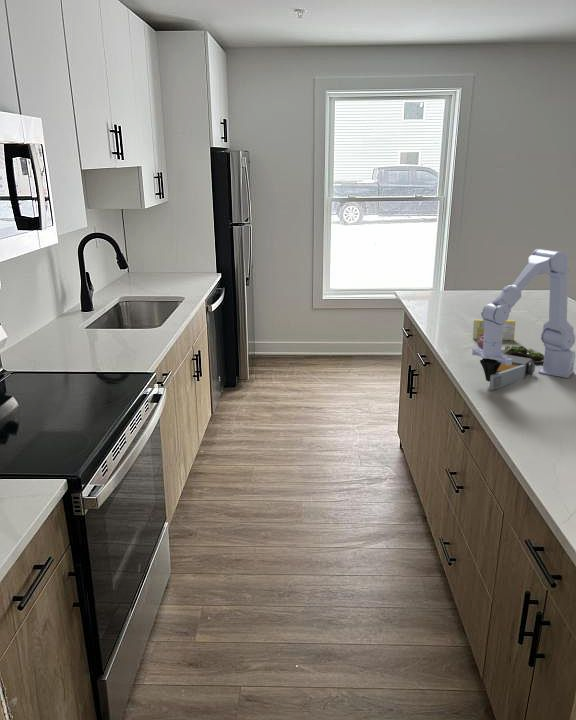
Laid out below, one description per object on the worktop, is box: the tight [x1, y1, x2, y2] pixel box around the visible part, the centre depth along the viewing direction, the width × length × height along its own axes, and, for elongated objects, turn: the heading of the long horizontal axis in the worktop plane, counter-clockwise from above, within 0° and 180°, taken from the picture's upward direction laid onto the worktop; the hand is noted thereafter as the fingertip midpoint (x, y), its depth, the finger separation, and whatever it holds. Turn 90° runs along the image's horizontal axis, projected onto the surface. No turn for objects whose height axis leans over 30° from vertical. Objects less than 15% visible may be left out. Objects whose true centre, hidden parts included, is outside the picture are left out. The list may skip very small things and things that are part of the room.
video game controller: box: [476, 336, 484, 349], centre depth 230 cm, size 10×5×7 cm, turn 141°
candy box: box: [472, 319, 516, 342], centre depth 243 cm, size 16×2×8 cm, turn 74°
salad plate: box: [501, 344, 545, 366], centre depth 221 cm, size 19×18×5 cm
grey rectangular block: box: [496, 354, 536, 378], centre depth 205 cm, size 13×7×5 cm, turn 51°
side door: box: [488, 364, 526, 391], centre depth 194 cm, size 17×2×5 cm, turn 124°
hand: (489, 380), depth 194 cm, fingers closed
